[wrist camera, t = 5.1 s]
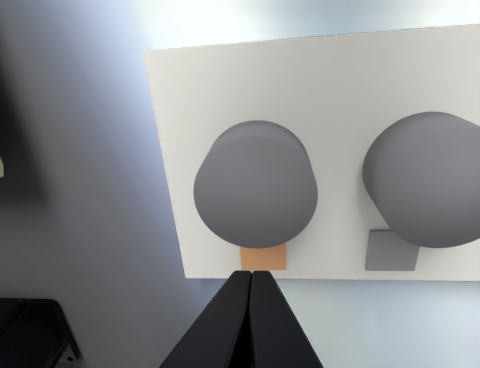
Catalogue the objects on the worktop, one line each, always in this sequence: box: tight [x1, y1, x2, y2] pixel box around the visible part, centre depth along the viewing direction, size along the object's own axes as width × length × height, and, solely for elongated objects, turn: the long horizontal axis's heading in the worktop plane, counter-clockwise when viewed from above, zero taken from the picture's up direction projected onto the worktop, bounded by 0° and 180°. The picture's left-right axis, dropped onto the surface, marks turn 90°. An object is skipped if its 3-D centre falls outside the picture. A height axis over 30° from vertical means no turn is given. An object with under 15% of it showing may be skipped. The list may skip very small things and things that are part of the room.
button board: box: [143, 24, 480, 281], centre depth 15 cm, size 12×22×2 cm, turn 94°
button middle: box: [362, 112, 480, 248], centre depth 11 cm, size 4×4×2 cm
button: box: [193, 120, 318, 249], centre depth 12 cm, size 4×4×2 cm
